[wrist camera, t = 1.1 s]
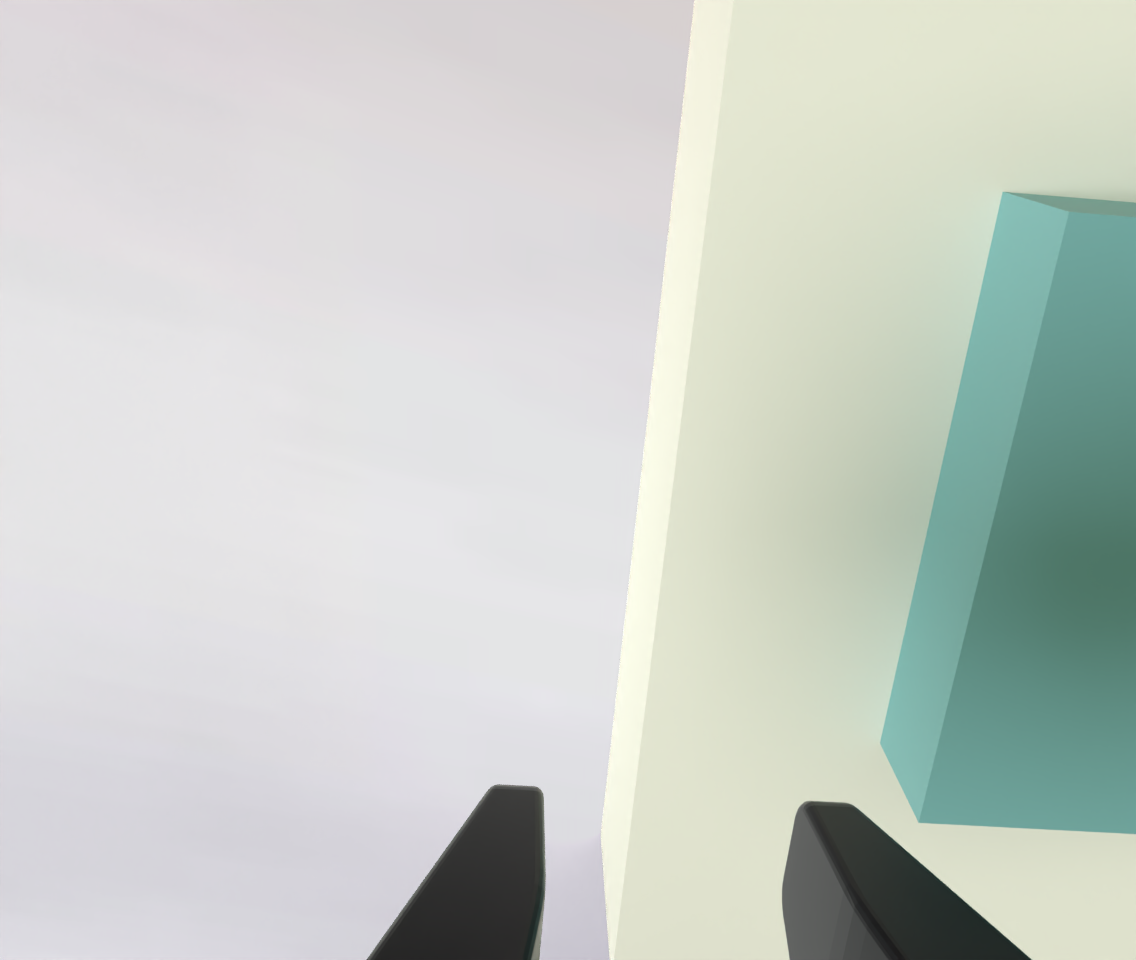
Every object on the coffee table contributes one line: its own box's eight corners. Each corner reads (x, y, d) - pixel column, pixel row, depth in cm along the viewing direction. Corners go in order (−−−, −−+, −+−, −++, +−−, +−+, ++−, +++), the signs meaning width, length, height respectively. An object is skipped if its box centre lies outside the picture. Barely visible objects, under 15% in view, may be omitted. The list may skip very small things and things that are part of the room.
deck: (1132, 861, 24) (1240, 1008, 20) (600, 834, 23) (611, 981, 20) (1481, -160, 17) (1750, -221, 13) (720, -236, 16) (774, -323, 12)
